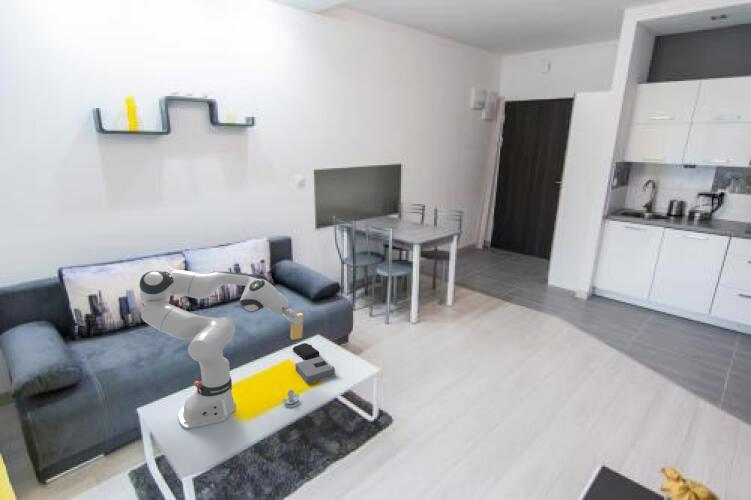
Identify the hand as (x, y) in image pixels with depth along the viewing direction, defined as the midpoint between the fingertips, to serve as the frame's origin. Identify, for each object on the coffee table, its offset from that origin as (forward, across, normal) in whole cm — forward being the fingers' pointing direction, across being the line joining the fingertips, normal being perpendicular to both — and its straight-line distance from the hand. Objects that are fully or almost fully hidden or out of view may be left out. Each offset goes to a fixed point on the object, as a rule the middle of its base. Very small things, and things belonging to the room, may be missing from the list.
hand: (296, 320), depth 191 cm
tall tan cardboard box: (+7, 0, +6) cm, 9 cm away
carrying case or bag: (+34, +17, +8) cm, 39 cm away
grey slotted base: (+28, -3, +13) cm, 31 cm away
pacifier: (+15, -18, +29) cm, 37 cm away
